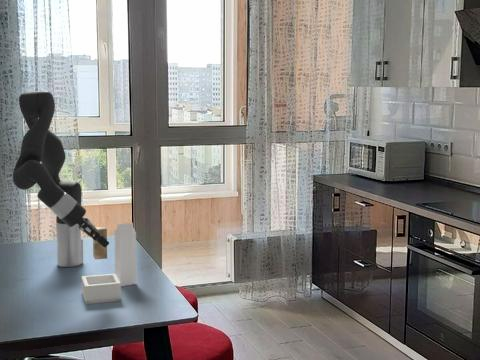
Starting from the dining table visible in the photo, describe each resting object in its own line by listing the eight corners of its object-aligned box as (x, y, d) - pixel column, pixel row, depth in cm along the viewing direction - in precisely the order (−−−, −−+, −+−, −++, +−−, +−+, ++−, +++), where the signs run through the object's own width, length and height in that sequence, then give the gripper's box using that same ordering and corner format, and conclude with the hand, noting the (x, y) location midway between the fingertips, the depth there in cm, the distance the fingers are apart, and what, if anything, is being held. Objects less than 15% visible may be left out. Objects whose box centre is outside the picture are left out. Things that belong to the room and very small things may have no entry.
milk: (136, 284, 219) (136, 224, 216) (119, 286, 216) (119, 225, 213) (130, 279, 224) (130, 221, 221) (114, 281, 221) (114, 222, 218)
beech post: (94, 259, 200) (94, 229, 199) (93, 256, 204) (92, 227, 203) (107, 258, 202) (106, 228, 200) (105, 255, 205) (105, 226, 204)
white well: (85, 304, 197) (85, 286, 197) (81, 293, 208) (81, 276, 207) (120, 300, 201) (120, 283, 201) (115, 290, 212) (115, 273, 211)
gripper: (78, 204, 191) (117, 240, 197) (74, 197, 204) (111, 231, 210) (61, 222, 190) (101, 257, 196) (57, 213, 203) (95, 247, 209)
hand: (106, 243), depth 203 cm, fingers closed on beech post, 4 cm apart
